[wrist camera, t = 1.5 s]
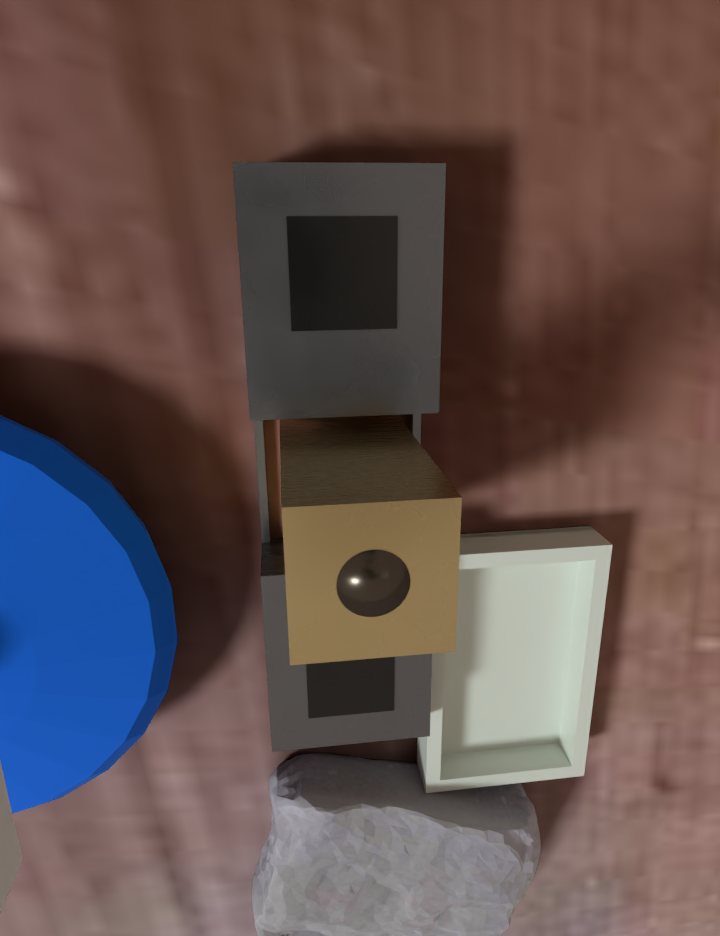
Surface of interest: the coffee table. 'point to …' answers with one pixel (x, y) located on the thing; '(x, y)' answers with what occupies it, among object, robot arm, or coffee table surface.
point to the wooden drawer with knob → (366, 541)
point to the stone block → (390, 852)
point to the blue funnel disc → (73, 620)
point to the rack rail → (339, 385)
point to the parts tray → (518, 660)
